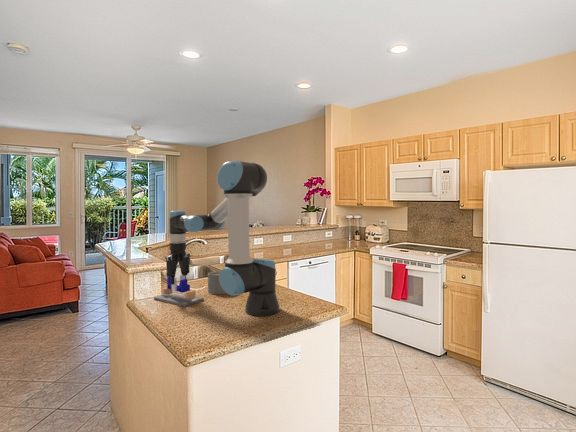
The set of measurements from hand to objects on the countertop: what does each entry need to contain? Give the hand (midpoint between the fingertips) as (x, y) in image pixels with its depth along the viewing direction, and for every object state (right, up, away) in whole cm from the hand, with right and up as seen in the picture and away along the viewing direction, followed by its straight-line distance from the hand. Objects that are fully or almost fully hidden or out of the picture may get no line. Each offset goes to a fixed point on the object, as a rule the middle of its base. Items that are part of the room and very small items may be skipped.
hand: (178, 289), depth 173 cm
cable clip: (0, 0, 0) cm, 0 cm away
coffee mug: (+16, -5, +18) cm, 24 cm away
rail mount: (0, -5, 0) cm, 5 cm away
